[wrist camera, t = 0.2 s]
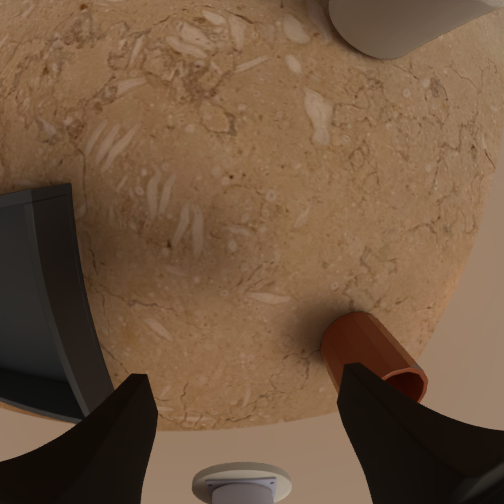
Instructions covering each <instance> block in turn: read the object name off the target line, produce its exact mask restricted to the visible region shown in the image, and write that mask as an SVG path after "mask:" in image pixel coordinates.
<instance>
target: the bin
mask: <svg viewBox="0 0 504 504" xmlns="http://www.w3.org/2000/svg"><path fill="white" fill-rule="evenodd" d="M113 392H114V388H113V385H112V383H111V380H110V377H109V374H108V371H107V368H106V365H105V362H104V359H103V355H102V352H101V349H100V345H99V342H98V338H97V335H96V331H95V328H94V324H93V320H92V316H91V312H90V308H89V303H88V299H87V294H86V290H85V285H84V280H83V275H82V269H81V264H80V258H79V251H78V245H77V238H76V230H75V222H74V212H73V202H72V189H71V183H67V184H60V185H53V186H46V187H40V188H34V189H28V190H23V191H18V192H14V193H9V194H4V195H0V402H3V403H6V404H9V405H11V406H14V407H17V408H20V409H23V410H26V411H30V412H33V413H36V414H40V415H43V416H47V417H51V418H54V419H58V420H62V421H67V422H71V423H75V424H78V423H79V422H81V421H82V420H83V419H84V418H85V417H86V416H88V415H89V414H90V413H91V412H92V411H93V410H95V409H96V408H97V407H98V406H99V405H100V404H101V403H102V402H103V401H104V400H105V399H106V398H107V397H109V396H110V395H111V394H112V393H113Z"/></svg>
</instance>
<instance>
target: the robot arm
mask: <svg viewBox="0 0 504 504" xmlns="http://www.w3.org/2000/svg"><path fill="white" fill-rule="evenodd" d="M337 405H338V409H339V413H340V416H341V420H342V423H343V426H344V428H345V430H346V432H347V435H348V437H349V439H350V442H351V444H352V446H353V448H354V450H355V453H356V455H357V457H358V459H359V462H360V464H361V466H362V468H363V471H364V474H365V476H366V480H367V483H368V487H369V490H370V494H371V498H372V502H373V504H504V431H501V430H493V429H488V428H483V427H478V426H474V425H470V424H466V423H463V422H460V421H457V420H455V419H452V418H449V417H447V416H444V415H441V414H440V413H438V412H435V411H433V410H431V409H429V408H427V407H425V406H423V405H421V404H420V403H418V402H416V401H415V400H413V399H411V398H410V397H408V396H406V395H405V394H403V393H402V392H400V391H399V390H397V389H396V388H394V387H393V386H391V385H390V384H389V383H387V382H386V381H384V380H383V379H382V378H380V377H379V376H378V375H376V374H375V373H374V372H372V371H371V370H370V369H368V368H367V367H366V366H364V365H363V364H361V363H360V362H356V363H349V364H344V368H343V374H342V379H341V384H340V389H339V394H338V399H337ZM157 419H158V410H157V407H156V404H155V400H154V397H153V394H152V390H151V387H150V383H149V380H148V376H147V374H133V373H132V374H131V375H130V376H129V377H128V378H127V379H126V380H125V381H124V382H123V383H122V384H121V385H120V386H119V387H118V388H117V389H116V390H115V391H114V392H113V393H112V394H111V395H110V396H109V397H107V398H106V399H105V400H104V401H103V402H102V403H101V404H100V405H99V406H98V407H97V408H96V409H95V410H93V411H92V412H91V413H90V414H89V415H88V416H86V417H85V418H84V419H83V420H82V421H81V422H79V423H78V424H77V425H75V426H74V427H73V428H71V429H70V430H68V431H67V432H65V433H64V434H63V435H61V436H59V437H58V438H56V439H54V440H52V441H51V442H49V443H47V444H45V445H43V446H41V447H39V448H37V449H35V450H33V451H31V452H28V453H26V454H23V455H21V456H18V457H15V458H12V459H9V460H5V461H2V462H0V504H140V503H141V493H142V486H143V481H144V477H145V473H146V468H147V465H148V461H149V457H150V453H151V450H152V446H153V442H154V438H155V434H156V427H157ZM276 482H277V480H276V477H264V478H248V479H207V480H205V484H206V487H207V490H208V493H209V496H210V499H211V502H212V504H274V502H275V492H276Z"/></svg>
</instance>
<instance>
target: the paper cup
mask: <svg viewBox="0 0 504 504" xmlns="http://www.w3.org/2000/svg"><path fill="white" fill-rule="evenodd" d="M320 353H321V356H322V360H323V363H324V365H325V367H326V369H327V371H328V374H329V376H330V378H331V380H332V382H333V385H334V387H335V389H336V391H337V393H338V394H339V389H340V384H341V379H342V374H343V368H344V364H349V363H356V362H360V363H361V364H363V365H364V366H366V367H367V368H368V369H370V370H371V371H372V372H374V373H375V374H376V375H378V376H379V377H380V378H382V379H383V380H384V381H386V382H387V383H389V384H390V385H391V386H393V387H394V388H396V389H397V390H399V391H400V392H402V393H403V394H405V395H406V396H408V397H410V398H411V399H413V400H415V401H416V402H418V403H420V402H421V400H422V398H423V397H424V395H425V393H426V389H427V384H428V379H427V377H426V375H425V373H424V371H423V370H422V369H421V368H420V366H419V365H418V364H417V363H416V362H415V361H414V359H413V358H412V357H411V356H410V355H409V354H408V352H407V351H406V350H405V349H404V348H403V347H402V346H401V345H400V343H399V342H398V341H397V340H396V339H395V338H394V337H393V336H392V334H391V333H390V332H389V331H388V330H387V329H386V328H385V327H384V325H383V324H382V323H381V322H380V321H379V320H378V319H377V318H375V317H374V316H373V315H371V314H368V313H365V312H355V313H350V314H347V315H345V316H342V317H341V318H339V319H337V320H336V321H335V322H334V323H332V324H331V325H330V326H329V328H328V329H327V330H326V332H325V333H324V335H323V337H322V340H321V344H320Z"/></svg>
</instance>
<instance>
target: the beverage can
mask: <svg viewBox="0 0 504 504" xmlns="http://www.w3.org/2000/svg"><path fill="white" fill-rule="evenodd" d="M503 6H504V0H329V7H328V8H329V15H330V18H331V21H332V23H333V25H334V27H335V28H336V30H337V31H338V32H339V34H340V35H341V36H342V37H343V38H344V39H345V40H346V41H347V42H348V43H349V44H351V45H352V46H353V47H355V48H356V49H358V50H359V51H361V52H363V53H365V54H367V55H369V56H372V57H375V58H379V59H386V60H392V59H397V58H400V57H403V56H404V55H406V54H408V53H410V52H411V51H413V50H415V49H417V48H419V47H420V46H422V45H424V44H426V43H428V42H430V41H432V40H433V39H435V38H437V37H439V36H441V35H443V34H445V33H447V32H449V31H451V30H453V29H455V28H457V27H459V26H461V25H463V24H465V23H467V22H470V21H472V20H474V19H476V18H478V17H480V16H483V15H485V14H487V13H489V12H492V11H494V10H496V9H499V8H501V7H503Z"/></svg>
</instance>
